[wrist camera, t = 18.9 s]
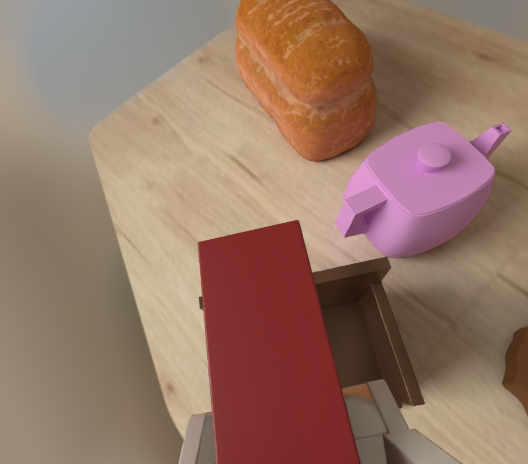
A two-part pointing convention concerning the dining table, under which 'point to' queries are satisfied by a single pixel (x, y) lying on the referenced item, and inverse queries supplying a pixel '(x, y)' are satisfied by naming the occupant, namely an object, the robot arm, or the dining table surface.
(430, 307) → the dining table surface
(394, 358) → the book stand
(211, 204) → the dining table surface
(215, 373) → the book
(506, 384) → the plant
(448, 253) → the dining table surface
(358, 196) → the teapot
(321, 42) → the bread
